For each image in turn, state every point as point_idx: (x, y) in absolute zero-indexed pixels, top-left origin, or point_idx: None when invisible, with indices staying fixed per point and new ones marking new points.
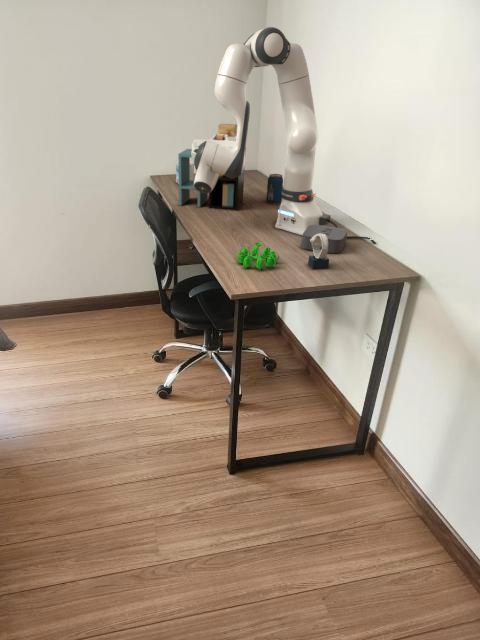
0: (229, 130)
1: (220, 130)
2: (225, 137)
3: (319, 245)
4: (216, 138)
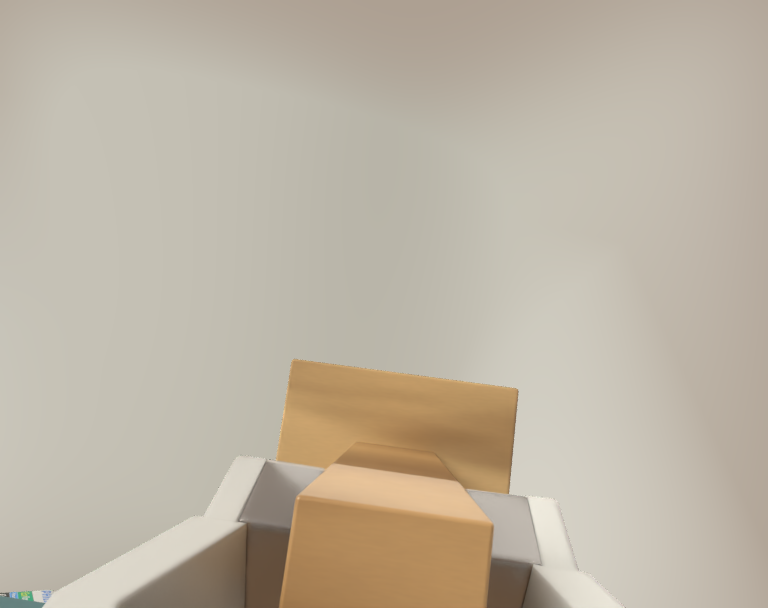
0: (442, 440)
1: (314, 428)
2: (561, 584)
3: None
4: (282, 602)
